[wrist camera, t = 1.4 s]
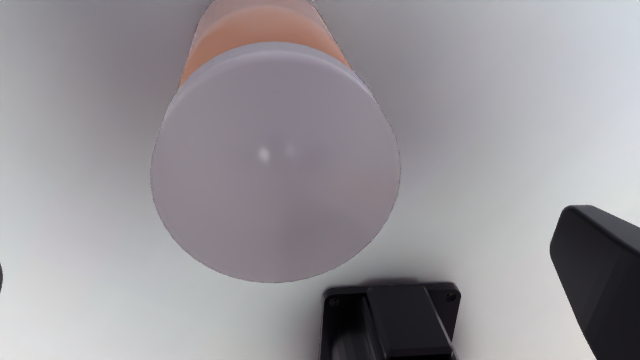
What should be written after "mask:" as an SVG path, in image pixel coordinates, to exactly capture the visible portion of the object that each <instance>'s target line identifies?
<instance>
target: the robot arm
mask: <svg viewBox="0 0 640 360" xmlns="http://www.w3.org/2000/svg"><path fill="white" fill-rule="evenodd" d="M550 256H551V259H552V262H553V264H554V267H555V269H556V271H557V274H558V276H559V279H560V281H561V283H562V286H563V288H564V291H565V293H566V295H567V298H568V300H569V302H570V305H571V307H572V310H573V312H574V314H575V317H576V319H577V322H578V324H579V326H580V328H581V330H582V333H583V335H584V337H585V339H586V341H587V343H588V344H589V346H590V348H591V350H592V352H593V354H594V356H595V357H596V359H597V360H640V227H637V226H635V225H633V224H631V223H629V222H627V221H624V220H622V219H620V218H618V217H616V216H614V215H611V214H609V213H607V212H605V211H603V210H601V209H598V208H596V207H594V206H592V205H570V206H567V207H565V208H564V209H563V211H562V212H561V215H560V218H559V220H558V223H557V226H556V229H555V232H554V234H553V237H552V240H551V243H550ZM2 282H3V273H2V267H1V264H0V292H1V288H2ZM451 293H452V295H450V296H447V295H448V294H451ZM334 298H336V299H338V300H336V301H330V300H332V299H334ZM460 299H461V293H460V291H459V290H458V288H457V286H456V285H454V284H431V285H407V286H382V287H358V288H334V289H330V290H328V291H326V292H325V293H324V295H323V301H322V317H321V332H320V348H319V360H459V359H458V357H457V354H456V352H455V350H454V348H453V346H452V343H451V342H452V338H453V333H454V328H455V323H456V318H457V314H458V309H459V304H460Z"/></svg>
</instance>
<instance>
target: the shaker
mask: <svg viewBox="0 0 640 360" xmlns="http://www.w3.org/2000/svg"><path fill="white" fill-rule="evenodd" d="M400 170H401V166H400V155H399V150H398V146H397V141H396V138H395V136H394V133H393V131H392V128H391V126H390V124H389V122H388V121H387V119H386V117H385V115H384V114H383V112H382V110H381V109H380V107H379V105H378V104H377V102H376V101H375V99H374V97H373V96H372V94H371V92H370V91H369V89H368V88H367V86H366V85H365V84H364V83H363V81H362V80H361V79H360V78H359V77H358V76H357V75H356V74H355V73H354V72H353V70H352V69H351V67H350V65H349V64H348V62H347V60H346V59H345V57H344V55H343V53H342V52H341V50H340V48H339V47H338V45H337V43H336V41H335V40H334V38H333V36H332V35H331V33H330V31H329V29H328V28H327V26H326V24H325V23H324V21H323V19H322V18H321V16H320V14H319V13H318V11H317V10H316V9H315V7H314V6H313V5H312V4H311V3H310V2H309V1H308V0H214V1H213V2H212V3H211V4H210V5H209V6H208V8H207V9H206V10H205V12H204V13H203V15H202V16H201V18H200V20H199V22H198V25H197V27H196V31H195V34H194V37H193V40H192V44H191V47H190V50H189V54H188V57H187V60H186V64H185V67H184V70H183V74H182V77H181V80H180V84H179V87H178V90H177V92H176V94H175V95H174V97H173V98H172V100H171V102H170V105H169V107H168V109H167V111H166V113H165V117H164V120H163V123H162V126H161V129H160V132H159V135H158V138H157V141H156V145H155V148H154V152H153V155H152V163H151V189H152V194H153V200H154V203H155V206H156V209H157V212H158V214H159V216H160V218H161V220H162V222H163V224H164V226H165V228H166V229H167V230H168V232H169V233H170V235H171V236H172V238H173V239H174V240H175V241H176V242H177V243H178V244H179V245H180V246H181V247H182V249H183V250H185V251H186V252H187V253H188V254H189V255H191V256H192V257H193V258H194V259H196V260H197V261H199V262H201V263H202V264H204V265H205V266H207V267H209V268H211V269H213V270H215V271H217V272H219V273H222V274H225V275H228V276H231V277H233V278H238V279H242V280H246V281H253V282H261V283H281V282H292V281H297V280H302V279H307V278H310V277H313V276H317V275H320V274H322V273H325V272H327V271H329V270H332V269H334V268H336V267H338V266H339V265H341V264H343V263H345V262H347V261H348V260H349V259H351V258H352V257H354V256H355V255H356V254H358V253H359V252H360V251H361V250H362V249H363V248H364V247H366V246H367V245H368V244H369V243H370V242H371V240H372V239H373V238H374V237H375V236H376V235H377V234H378V232H379V231H380V229H381V228H382V226H383V225H384V224H385V222H386V220H387V218H388V216H389V214H390V212H391V210H392V208H393V206H394V203H395V200H396V197H397V193H398V188H399V183H400Z"/></svg>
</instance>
